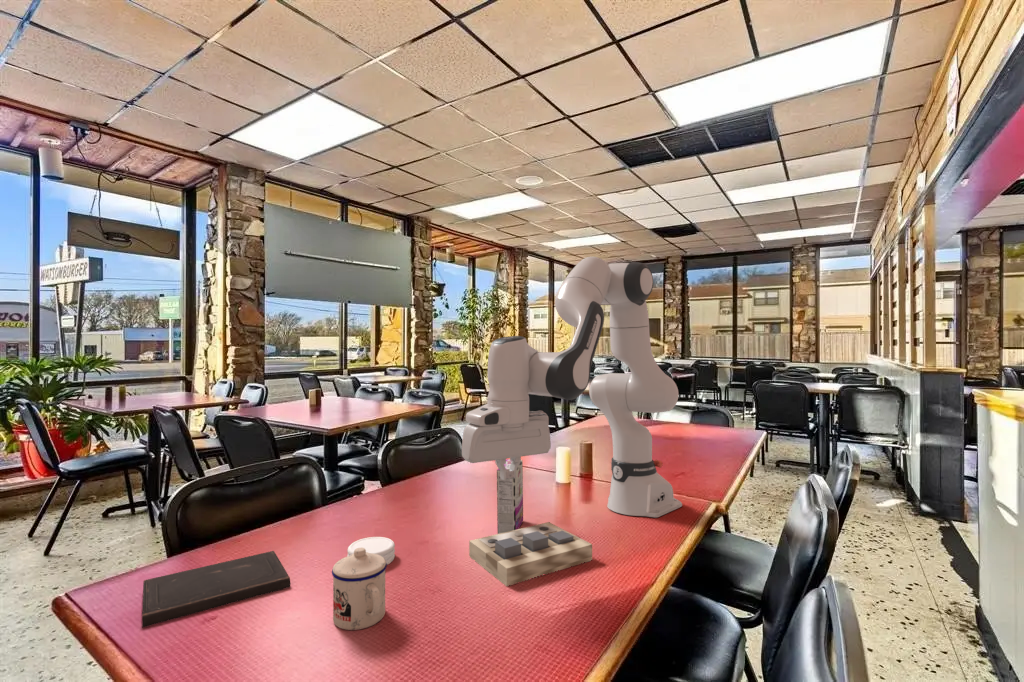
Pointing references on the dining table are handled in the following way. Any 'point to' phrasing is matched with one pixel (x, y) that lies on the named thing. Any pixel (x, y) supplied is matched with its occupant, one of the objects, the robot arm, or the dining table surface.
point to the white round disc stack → (375, 547)
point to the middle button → (535, 541)
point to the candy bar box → (510, 500)
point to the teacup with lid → (359, 590)
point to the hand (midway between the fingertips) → (508, 478)
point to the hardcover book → (211, 587)
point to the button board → (529, 555)
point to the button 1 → (507, 548)
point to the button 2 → (560, 537)
